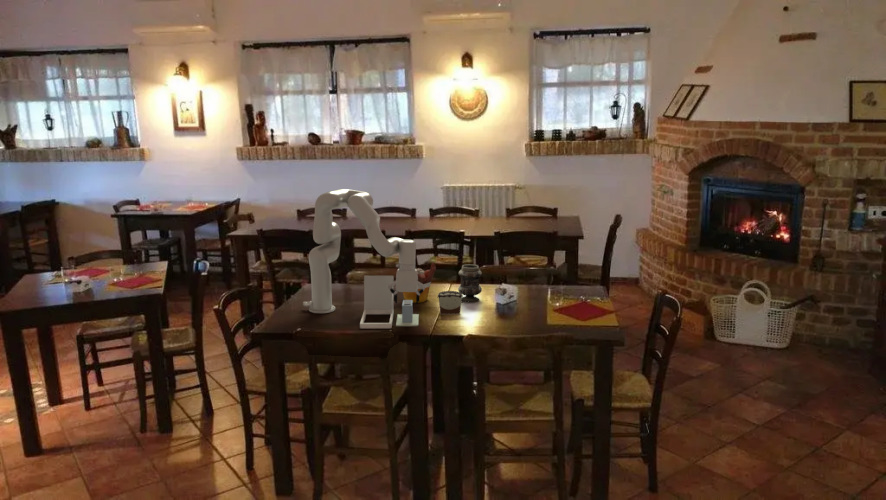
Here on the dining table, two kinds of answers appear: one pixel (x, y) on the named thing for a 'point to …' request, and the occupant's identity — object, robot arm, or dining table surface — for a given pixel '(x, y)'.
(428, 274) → the bucket of meat
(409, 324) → the mat
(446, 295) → the food container
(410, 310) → the box
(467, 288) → the apothecary jar
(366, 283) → the case
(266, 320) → the dining table surface
